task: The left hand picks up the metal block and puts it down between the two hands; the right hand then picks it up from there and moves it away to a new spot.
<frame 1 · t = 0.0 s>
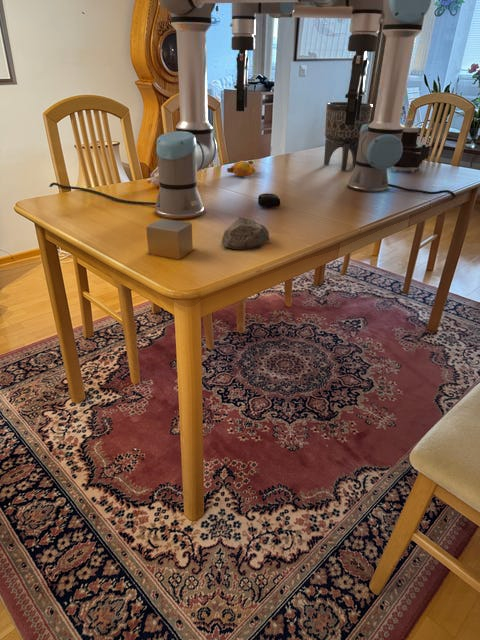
left hand: (352, 122, 129), 28 cm above the table, tool pointing down, fingers open, 13 cm apart
right hand: (241, 109, 155), 28 cm above the table, tool pointing down, fingers open, 13 cm apart
toy: (243, 175, 193), on the table
tape measure: (269, 207, 151), on the table
planter: (341, 167, 211), on the table
block: (170, 251, 116), on the table
rock: (247, 244, 122), on the table
mechanical component: (404, 168, 211), on the table
figurine: (163, 186, 173), on the table
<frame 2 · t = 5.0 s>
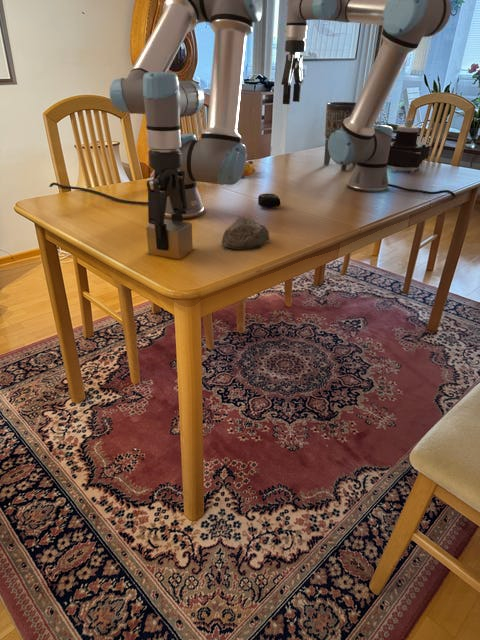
left hand: (170, 244, 115), 2 cm above the table, tool pointing down, fingers closed on block, 7 cm apart
right hand: (291, 103, 179), 28 cm above the table, tool pointing down, fingers open, 13 cm apart
block: (170, 251, 116), on the table, touching left hand
everything else where it was.
when the left hand's fingers open (4 cm above the table, at t = 12.5 s): block drops 2 cm, on the table.
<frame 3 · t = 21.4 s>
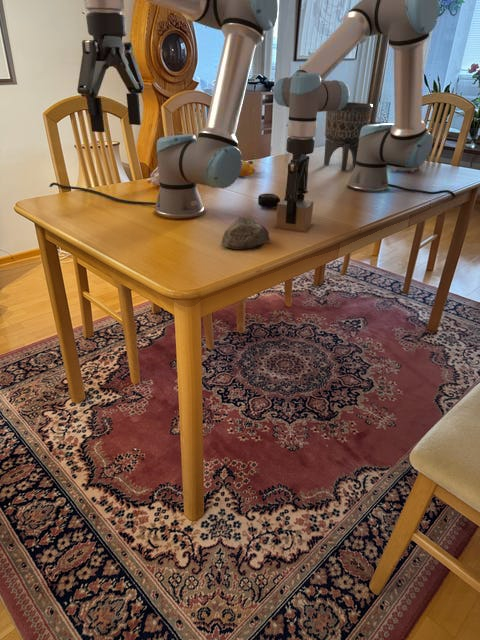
left hand: (117, 128, 101), 29 cm above the table, tool pointing down, fingers open, 13 cm apart
right hand: (294, 219, 134), 2 cm above the table, tool pointing down, fingers closed on block, 7 cm apart
block: (293, 226, 135), on the table, touching right hand
everything else where it was.
when the right hand's fingers open (4 cm above the table, at t = 33.0 s): block drops 2 cm, on the table.
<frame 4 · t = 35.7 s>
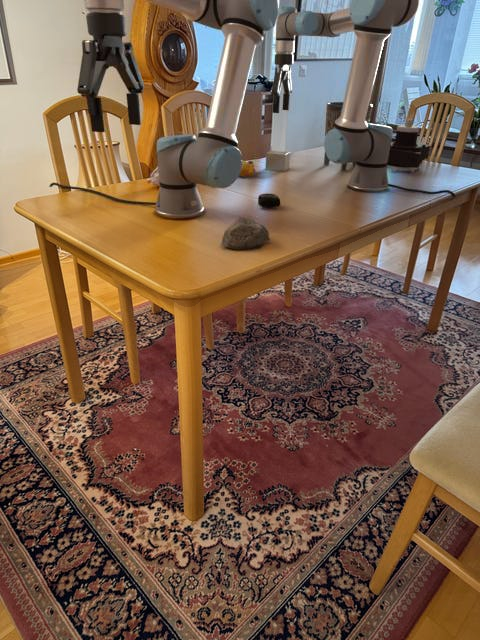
left hand: (117, 128, 101), 29 cm above the table, tool pointing down, fingers open, 13 cm apart
right hand: (280, 111, 192), 24 cm above the table, tool pointing down, fingers open, 13 cm apart
block: (277, 169, 204), on the table
everything else where it was.
at the end: block inside the target area (0.1 cm from its centre), on the table; block tilted 0°; the two hands never held the block at the same time; the left hand is holding nothing; the right hand is holding nothing; block at rest at the end (0.0 cm/s) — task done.
